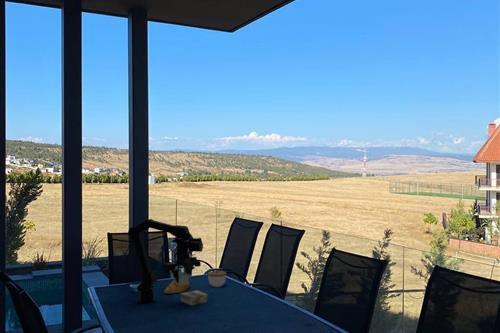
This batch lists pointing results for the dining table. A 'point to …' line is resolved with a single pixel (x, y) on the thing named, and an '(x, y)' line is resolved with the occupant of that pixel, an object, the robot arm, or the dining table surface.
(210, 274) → the lidded jar
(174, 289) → the croissant
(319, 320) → the dining table surface
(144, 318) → the dining table surface
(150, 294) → the robot arm
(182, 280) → the sage cube
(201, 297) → the birch plinth
